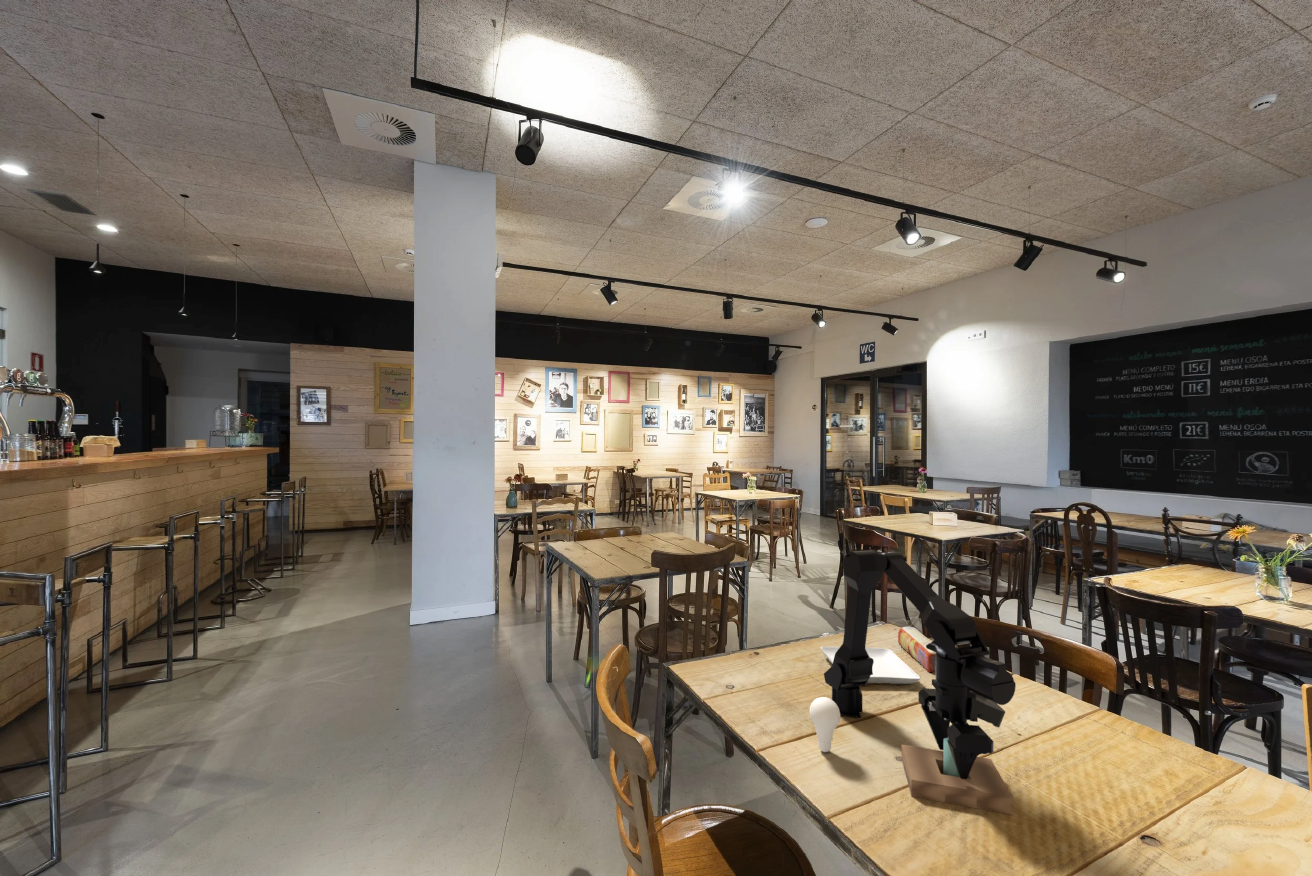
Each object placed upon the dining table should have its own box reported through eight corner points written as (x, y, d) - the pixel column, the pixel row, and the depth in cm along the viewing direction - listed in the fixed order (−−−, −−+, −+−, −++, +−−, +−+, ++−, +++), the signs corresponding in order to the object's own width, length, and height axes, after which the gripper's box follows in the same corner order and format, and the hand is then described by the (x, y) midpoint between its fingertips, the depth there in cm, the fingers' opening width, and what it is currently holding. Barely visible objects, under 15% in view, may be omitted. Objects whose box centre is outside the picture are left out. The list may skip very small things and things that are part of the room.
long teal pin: (945, 788, 99) (945, 744, 99) (941, 778, 102) (941, 736, 102) (963, 791, 98) (963, 747, 98) (959, 781, 101) (959, 739, 101)
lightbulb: (840, 746, 113) (840, 694, 113) (840, 762, 107) (840, 707, 107) (810, 741, 115) (810, 689, 115) (808, 756, 109) (808, 702, 109)
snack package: (950, 675, 150) (950, 651, 150) (926, 674, 150) (926, 650, 150) (917, 646, 171) (917, 625, 171) (896, 646, 171) (896, 625, 171)
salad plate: (922, 690, 140) (922, 677, 140) (842, 688, 141) (842, 675, 141) (888, 658, 162) (888, 647, 162) (818, 657, 162) (819, 646, 162)
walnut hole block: (911, 796, 97) (911, 779, 97) (901, 759, 108) (901, 744, 108) (1012, 814, 92) (1012, 797, 92) (991, 774, 103) (991, 758, 104)
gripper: (1026, 707, 90) (1026, 800, 90) (974, 663, 109) (974, 739, 108) (956, 702, 92) (956, 794, 91) (917, 659, 110) (917, 735, 110)
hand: (952, 763), depth 100 cm, fingers open, 9 cm apart
